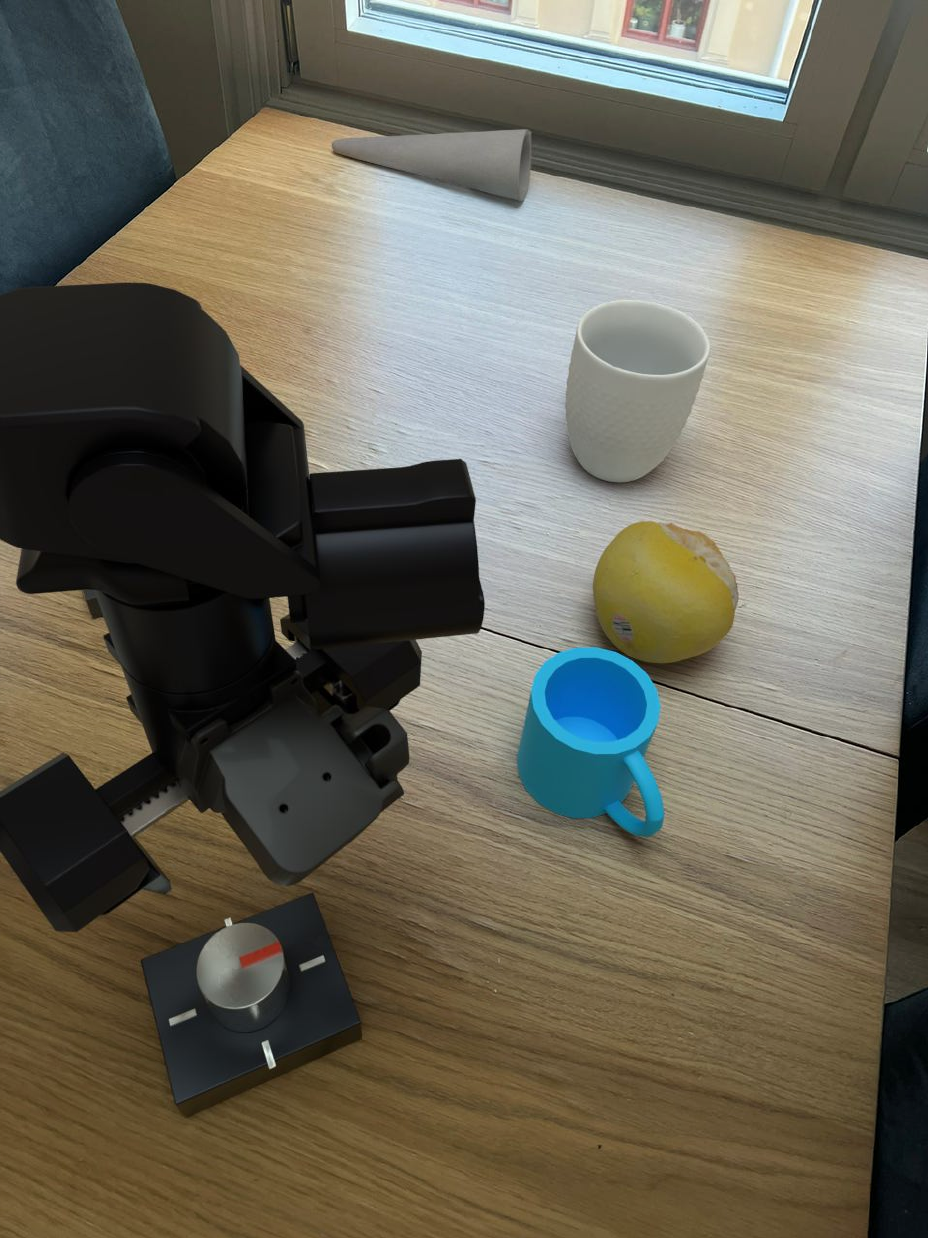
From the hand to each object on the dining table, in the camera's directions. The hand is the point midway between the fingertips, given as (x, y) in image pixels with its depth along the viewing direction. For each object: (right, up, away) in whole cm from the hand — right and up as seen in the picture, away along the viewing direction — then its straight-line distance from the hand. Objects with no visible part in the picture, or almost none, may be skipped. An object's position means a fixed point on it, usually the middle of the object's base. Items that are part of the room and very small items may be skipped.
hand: (243, 826), depth 47 cm
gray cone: (+6, +66, +71) cm, 97 cm away
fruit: (+26, +9, +26) cm, 38 cm away
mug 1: (+25, +26, +40) cm, 53 cm away
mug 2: (+20, -1, +17) cm, 26 cm away
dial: (-1, -10, +4) cm, 11 cm away
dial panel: (-1, -12, +6) cm, 13 cm away
